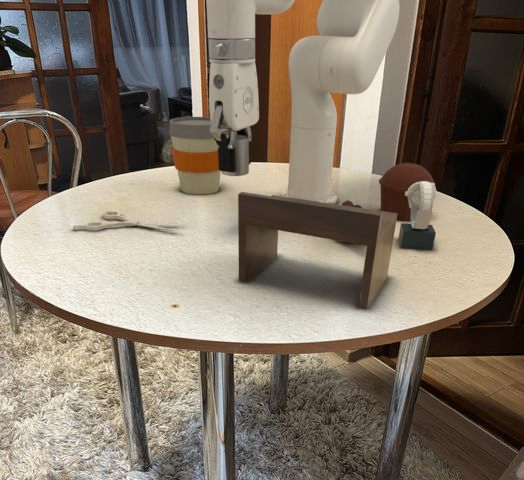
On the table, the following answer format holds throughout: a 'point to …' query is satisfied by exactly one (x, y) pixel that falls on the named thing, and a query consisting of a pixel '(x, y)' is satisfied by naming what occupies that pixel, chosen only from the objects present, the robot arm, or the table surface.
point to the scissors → (119, 223)
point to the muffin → (400, 188)
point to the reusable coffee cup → (195, 155)
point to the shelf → (313, 233)
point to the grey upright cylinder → (240, 156)
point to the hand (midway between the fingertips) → (235, 166)
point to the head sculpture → (419, 217)
